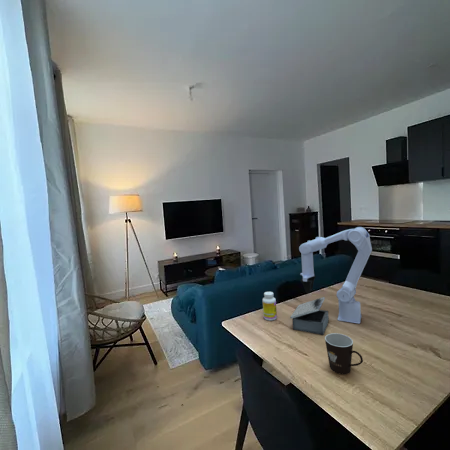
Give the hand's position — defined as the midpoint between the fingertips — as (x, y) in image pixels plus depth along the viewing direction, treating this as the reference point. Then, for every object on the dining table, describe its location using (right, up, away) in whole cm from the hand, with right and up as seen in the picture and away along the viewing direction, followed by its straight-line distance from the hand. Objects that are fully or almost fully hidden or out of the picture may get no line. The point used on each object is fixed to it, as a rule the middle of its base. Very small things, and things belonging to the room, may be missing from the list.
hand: (309, 291), depth 129 cm
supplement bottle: (-21, -13, -5) cm, 25 cm away
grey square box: (-4, -12, -15) cm, 19 cm away
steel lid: (-6, -4, -15) cm, 16 cm away
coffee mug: (-5, -14, -47) cm, 49 cm away
